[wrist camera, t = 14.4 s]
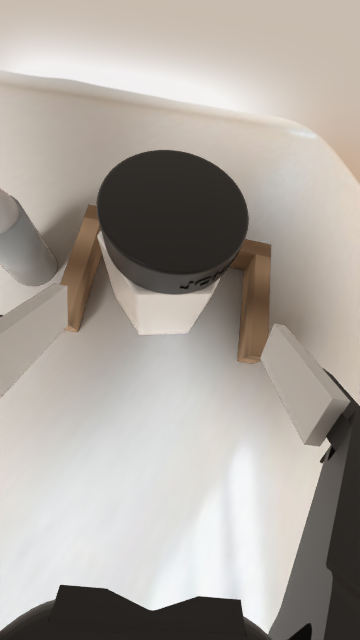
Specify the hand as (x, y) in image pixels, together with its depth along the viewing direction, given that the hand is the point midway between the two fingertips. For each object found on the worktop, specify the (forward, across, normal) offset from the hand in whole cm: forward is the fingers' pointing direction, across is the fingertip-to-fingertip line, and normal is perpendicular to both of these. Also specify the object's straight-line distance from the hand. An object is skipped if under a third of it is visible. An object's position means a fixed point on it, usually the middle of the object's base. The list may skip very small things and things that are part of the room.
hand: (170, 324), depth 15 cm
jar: (+9, -1, -2) cm, 9 cm away
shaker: (+9, -13, -1) cm, 16 cm away
